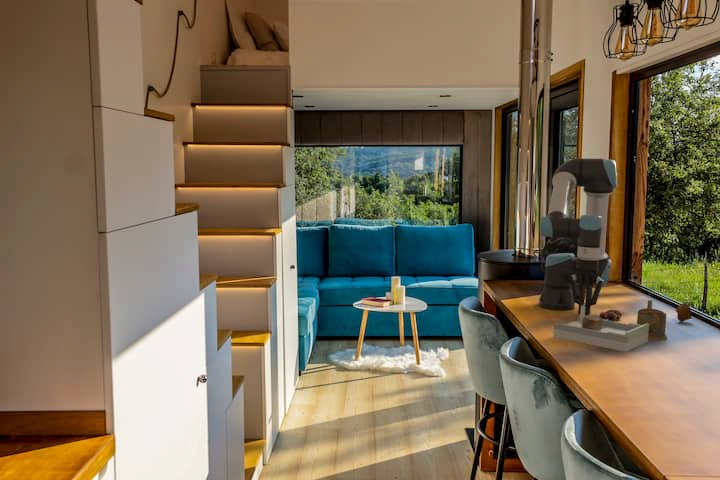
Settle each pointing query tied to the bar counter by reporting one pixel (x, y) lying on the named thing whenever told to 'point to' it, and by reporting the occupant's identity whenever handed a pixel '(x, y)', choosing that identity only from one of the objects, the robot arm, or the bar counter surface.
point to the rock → (684, 312)
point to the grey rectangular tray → (605, 334)
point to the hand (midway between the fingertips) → (583, 323)
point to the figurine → (611, 315)
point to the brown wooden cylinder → (653, 322)
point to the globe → (559, 248)
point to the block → (592, 323)
